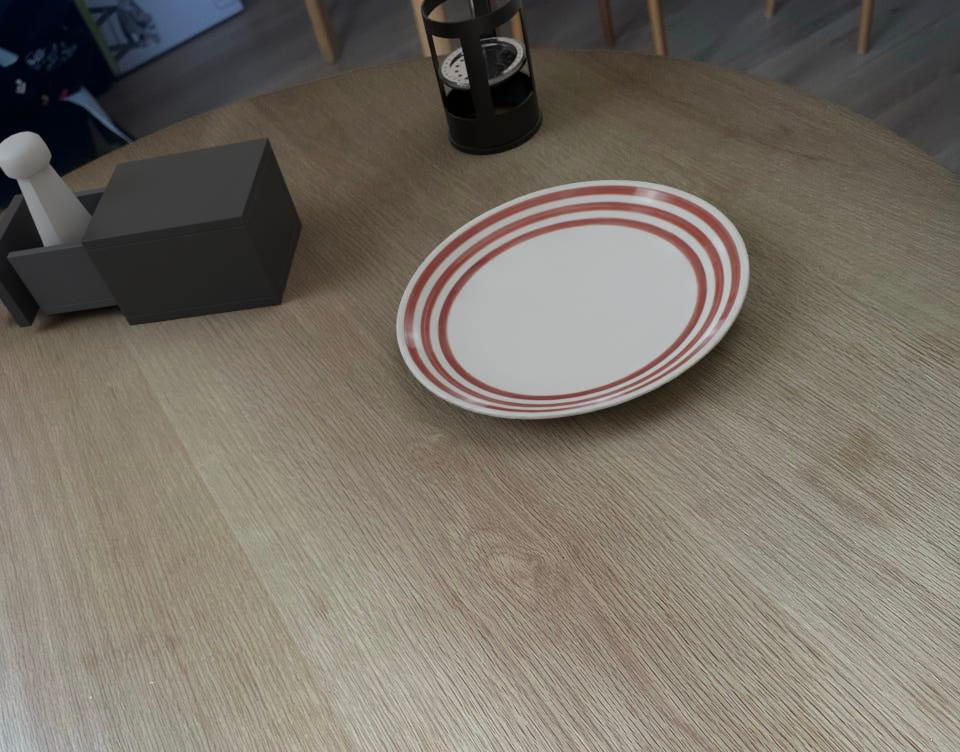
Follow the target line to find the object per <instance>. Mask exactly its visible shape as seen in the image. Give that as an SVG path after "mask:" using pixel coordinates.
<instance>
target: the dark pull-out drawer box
mask: <svg viewBox="0 0 960 752" xmlns="http://www.w3.org/2000/svg"><path fill="white" fill-rule="evenodd" d="M106 187H107V186H103V187H97V188H91V189H86V190H80V191H74V192H73V191H72V193H73V194H74V195H75V196H76V198H77V199H78V200H79V201H80V203H81V204H82V205H83V206H84V208H85V209H86V210H87V211H88V213H89V214H90V215H91V216H93V214H94V212H95V210H96V208H97V206H98V204H99V201H100V199H101V197H102V195H103V193H104V191H105V189H106ZM0 301H1V303H2V304H3V306H4V307H5V308H6V309H7V311H8V312H9V314H10V316H12V318H13V319H14V321H15V322H16V324H17V325H18V327H19V328H29V327H32V326H33V323H34V322H35V320H36V318H37V315H38V313H39V311H40V309H41V311H42V312H43V313H44V315H45V316H51V315H57V314H65V313H71V312H72V313H73V312H79V311H86V310H93V309H100V308H106V307H114V306H118V304H117V303H116V301H115V299H114V297H113V296H112V294H111V292H110V291H109V289H108V287H107V286H106V284H105V282H104V281H103V279H102V277H101V276H100V274H99V272H98V271H97V269H96V267H95V266H94V264H93V262H92V260H91V259H90V257H89V255H88V254H87V252H86V250H85V249H84V247H83V245H82V244H81V241H78V242H71V243H65V244H59V245H53V246H46V247H44V244H43V242H42V239H41V237H40V234H39V232H38V229H37V227H36V225H35V222H34V220H33V217H32V215H31V213H30V210H29V208H28V205H27V203H26V200H25V198H24V196H23V193H20V194H15V195H14V196H13V197H12V200H11V201H10V203H9V205H8V207H7V208H6V210H5V212H4V214H3V215H2V217H1V219H0Z"/></svg>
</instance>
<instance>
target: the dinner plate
mask: <svg viewBox="0 0 960 752" xmlns="http://www.w3.org/2000/svg"><path fill="white" fill-rule="evenodd" d="M750 269H751V267H750V259H749V255H748V249H747V247H746V244H745V242H744V240H743V237H742V235H741V234H740V232H739V230H738V229H737V227H736V226H735V225H734V223H733V222H732V221H731V220H730V219H729V218H728V217H727V216H726V215H725V214H724V213H723V212H722V211H721V210H719V209H718V208H717V207H715V206H714V205H712V204H711V203H709V202H708V201H706V200H704V199H702V198H700V197H698V196H697V195H693V194H692V193H689V192H686V191H683V190H681V189H678V188H675V187H672V186H669V185H665V184H660V183H654V182H650V181H649V182H648V181H641V180H627V179H601V180H589V181H580V182H572V183H567V184H561V185H557V186H556V185H555V186H551V187H548V188H544V189H539V190H537V191H533V192H531V193H528V194H525V195H522V196H519V197H516V198H513V199H511V200H510V201H507V202H504V203H502V204H500V205H498V206H496V207H494V208H491V209H489V210H487V211H485V212H484V213H482V214H480V215H479V216H476V217H475V218H473V219H472V220H470V221H468V222H467V223H465V224H463V226H461V227H460V228H457V230H455V231H454V232H453V233H452V234H450V235H449V236H447V237H446V238H445V239H444V240H443V241H442V242H441V243H439V244H438V246H436V247H435V248H434V249H433V250H432V251H431V252H430V253H429V255H427V256H426V258H425V259H424V260H423V261H422V262H421V264H420V265H419V266H418V268H417V269H416V271H415V272H414V274H413V275H412V277H411V278H410V280H409V282H408V283H407V286H406V288H405V290H404V292H403V294H402V297H401V300H400V302H399V306H398V310H397V314H396V322H395V323H396V325H395V326H396V327H395V329H396V339H397V344H398V348H399V351H400V354H401V356H402V359H403V360H404V363H405V365H406V366H407V368H408V369H409V371H410V373H411V374H412V375H413V376H414V377H415V378H416V380H418V382H419V383H420V384H421V385H422V386H424V387H425V388H426V389H427V390H429V391H430V392H431V393H433V394H434V395H436V396H437V397H438V398H440V399H442V400H444V401H446V402H448V403H449V404H452V405H454V406H456V407H458V408H461V409H462V410H466V411H469V412H473V413H476V414H479V415H484V416H489V417H494V418H502V419H503V418H504V419H510V420H516V419H518V420H545V419H547V420H548V419H557V418H558V419H559V418H567V417H573V416H578V415H583V414H588V413H592V412H596V411H597V412H598V411H600V410H605V409H607V408H611V407H614V406H615V407H616V406H618V405H620V404H624V403H626V402H629V401H632V400H634V399H636V398H639V397H641V396H642V395H646V394H648V393H650V392H653V391H655V390H657V389H658V388H660V387H661V386H663V385H665V384H667V383H669V382H671V381H672V380H674V379H676V378H677V377H679V376H680V375H682V374H683V373H684V372H686V371H688V370H689V369H690V368H692V367H693V366H695V365H696V364H697V363H698V362H699V361H701V360H702V359H703V358H705V356H706V355H708V354H709V353H710V352H711V351H712V350H713V349H714V348H715V347H716V346H717V345H718V344H719V343H720V342H721V341H722V339H723V338H724V337H725V336H726V335H727V333H728V331H729V330H730V329H731V327H732V326H733V325H734V323H735V321H736V319H737V318H738V316H739V314H740V312H741V310H742V308H743V305H744V303H745V300H746V297H747V294H748V290H749V285H750V275H751V274H750V273H751V272H750V271H751V270H750Z"/></svg>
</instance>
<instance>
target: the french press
mask: <svg viewBox="0 0 960 752" xmlns="http://www.w3.org/2000/svg"><path fill="white" fill-rule="evenodd" d="M447 1H448V0H423V1H422V2H421V5H420V14H421V18H422V22H423V28H424V31H425V35H426V40H427V44H428V48H429V52H430V56H431V61H432V65H433V69H434V72H435V79H436V82H437V86H438V90H439V94H440V98H441V103H442V107H443V112H444V115H445V119H446V124H447V128H448V129H447V137H448V140H449V143H450V145H451V146H452V147H453V148H454V149H455V150H457V151H459V152H461V153H464V154H467V155H476V156H477V155H481V156H482V155H492V154H498V153H502V152H504V151H508V150H511V149H513V148H516V147H517V146H520V145H522V144H523V143H525V142H527V141H528V140H529V139H530V138H532V137H533V136H534V135H535V134H536V133H537V132H538V131H539V130H540V128H541V126H542V123H543V117H544V116H543V110H542V108H541V106H540V105H539V100H538V94H537V88H536V87H537V86H536V81H535V76H534V70H533V63H532V57H531V50H530V45H529V38H528V33H527V26H526V20H525V14H524V6H523V1H522V0H508V1H507V2H506V3H504V4H503V5H502V6H500V7H498V8H497V9H494V10H493V7H492V3H491V0H467V3H468V8H469V12H470V16H471V17H470V19H466V20H460V21H439V20H435V19H432V18H430V15H431V13H432V12H433V11H435V9H437V8H438V7H440V5H442V4H443V3H445V2H447ZM517 13H518V14H519V19H520V25H521V33H522V37H523V38H522V39H523V42H522V41H520V40H517V39H515V38H511V37H504V36H499V37H498V35H497V30H496V29H497V28H499V27H501V26H503V25H505V24H507V22H509V21H510V20H512V19H513V18H514V17H515V16H516V15H517ZM433 36H434V37H436V38H439V39H449V40H453V39H456V40H457V39H459V42H460V47H458V48H456V49H454V50H453V51H451V52H450V53H448V55H446V56H445V57H444V58H443V59H442V61H441V62H440V63H439V59H438V54H437V50H436V46H435V42H434V37H433ZM526 63H527V68H528V72H526V71H524V70H522V69H523V68H524V66H525V65H526ZM445 86H446V87H448V88H450V90H449V91H448V92H446V89H445ZM498 106H515V107H513V108H512V109H509V110H506V111H505V112H502V113H500V114H497V115H496V113H495V107H498ZM473 115H475V117H476V118H471V117H472V116H473Z"/></svg>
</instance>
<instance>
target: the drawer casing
mask: <svg viewBox="0 0 960 752" xmlns="http://www.w3.org/2000/svg"><path fill="white" fill-rule="evenodd" d="M105 187H106V189H105V191H104V193H103V195H102V197H101V199H100V201H99V204H98V206H97V208H96V210H95V212H94V214H93V216H92V218H91V220H90V223H89V225H88V227H87V229H86V231H85V233H84V235H83V237H82V240H81V244H82V245H83V247H84V249H85V250H86V252H87V254H88V255H89V257H90V259H91V260H92V262H93V264H94V266H95V267H96V269H97V271H98V272H99V274H100V276H101V277H102V279H103V281H104V282H105V284H106V286H107V287H108V289H109V291H110V292H111V294H112V296H113V297H114V299H115V301H116V303H117V304H118V305H117V307H118V308H119V309H120V311H121V312H122V314H123V316H124V318H125V320H126V322H127V323H128V324H129V326H133V325H142V324H149V323H155V322H164V321H171V320H177V319H184V318H192V317H199V316H206V315H214V314H221V313H229V312H234V311H243V310H249V309H257V308H263V307H264V308H265V307H270V306H278V305H281V304H282V300H283V297H284V293H285V290H286V289H285V288H286V286H287V282H288V278H289V275H290V270H291V268H292V264H293V260H294V257H295V252H296V250H297V245H298V241H299V238H300V234H301V230H302V227H303V224H302V220H301V218H300V216H299V214H298V210H297V208H296V206H295V203H294V201H293V198H292V195H291V193H290V190H289V188H288V185H287V182H286V180H285V177H284V175H283V173H282V170H281V168H280V165H279V162H278V160H277V157H276V154H275V152H274V149H273V147H272V145H271V141H270V140H269V137H261V138H256V139H251V140H244V141H240V142H239V141H238V142H233V143H227V144H223V145H216V146H211V147H205V148H199V149H194V150H187V151H182V152H176V153H171V154H165V155H159V156H153V157H148V158H143V159H137V160H131V161H126V162H125V161H124V162H119V163H117V164H116V165H115V167H114V170H113V172H112V174H111V176H110V178H109V180H108V182H107V184H106V186H105Z"/></svg>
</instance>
